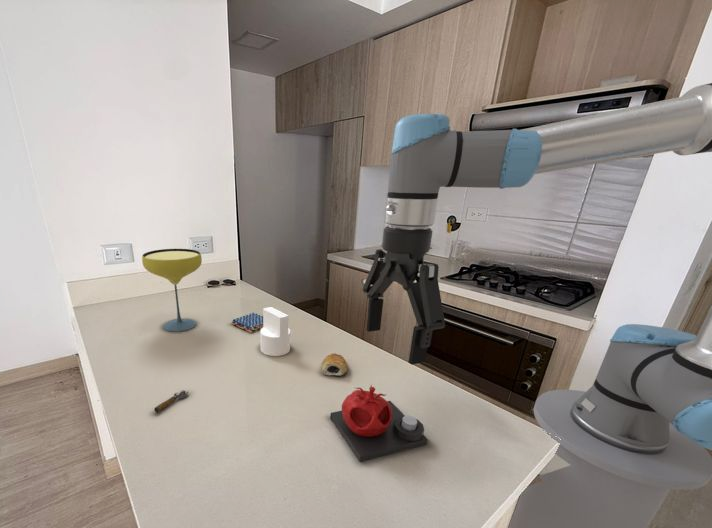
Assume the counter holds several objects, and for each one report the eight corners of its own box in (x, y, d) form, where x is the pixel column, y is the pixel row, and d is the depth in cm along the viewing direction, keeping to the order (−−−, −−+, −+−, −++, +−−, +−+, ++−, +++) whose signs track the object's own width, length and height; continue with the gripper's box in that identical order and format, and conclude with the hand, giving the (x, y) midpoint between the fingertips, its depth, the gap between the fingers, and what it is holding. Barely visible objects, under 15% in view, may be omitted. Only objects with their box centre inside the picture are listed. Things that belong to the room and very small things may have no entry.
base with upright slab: (254, 347, 104) (254, 310, 100) (278, 339, 110) (278, 304, 105) (271, 358, 98) (271, 320, 93) (296, 350, 103) (297, 313, 99)
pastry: (324, 358, 99) (325, 346, 97) (347, 361, 98) (349, 349, 96) (320, 375, 90) (321, 362, 89) (345, 378, 89) (347, 366, 88)
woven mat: (230, 324, 120) (229, 319, 119) (252, 316, 127) (252, 311, 126) (249, 333, 113) (249, 327, 113) (272, 324, 121) (272, 319, 120)
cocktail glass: (156, 317, 125) (147, 248, 115) (207, 314, 128) (202, 248, 119) (147, 338, 108) (135, 260, 99) (205, 334, 112) (199, 259, 102)
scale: (390, 405, 79) (392, 394, 78) (428, 444, 68) (430, 431, 66) (330, 417, 74) (331, 406, 73) (359, 461, 63) (361, 449, 62)
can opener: (157, 413, 74) (156, 409, 74) (151, 409, 75) (150, 404, 75) (191, 394, 81) (190, 390, 81) (184, 390, 82) (184, 386, 82)
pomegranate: (336, 411, 74) (339, 374, 71) (381, 410, 75) (386, 373, 71) (345, 444, 65) (350, 403, 62) (396, 442, 66) (403, 402, 62)
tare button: (410, 420, 70) (411, 414, 69) (418, 429, 68) (420, 423, 67) (398, 423, 69) (399, 417, 69) (407, 432, 67) (408, 426, 66)
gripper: (350, 218, 65) (343, 322, 72) (444, 239, 43) (420, 384, 50) (384, 217, 67) (374, 317, 75) (491, 236, 45) (460, 375, 53)
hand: (392, 344), depth 63 cm, fingers open, 13 cm apart
